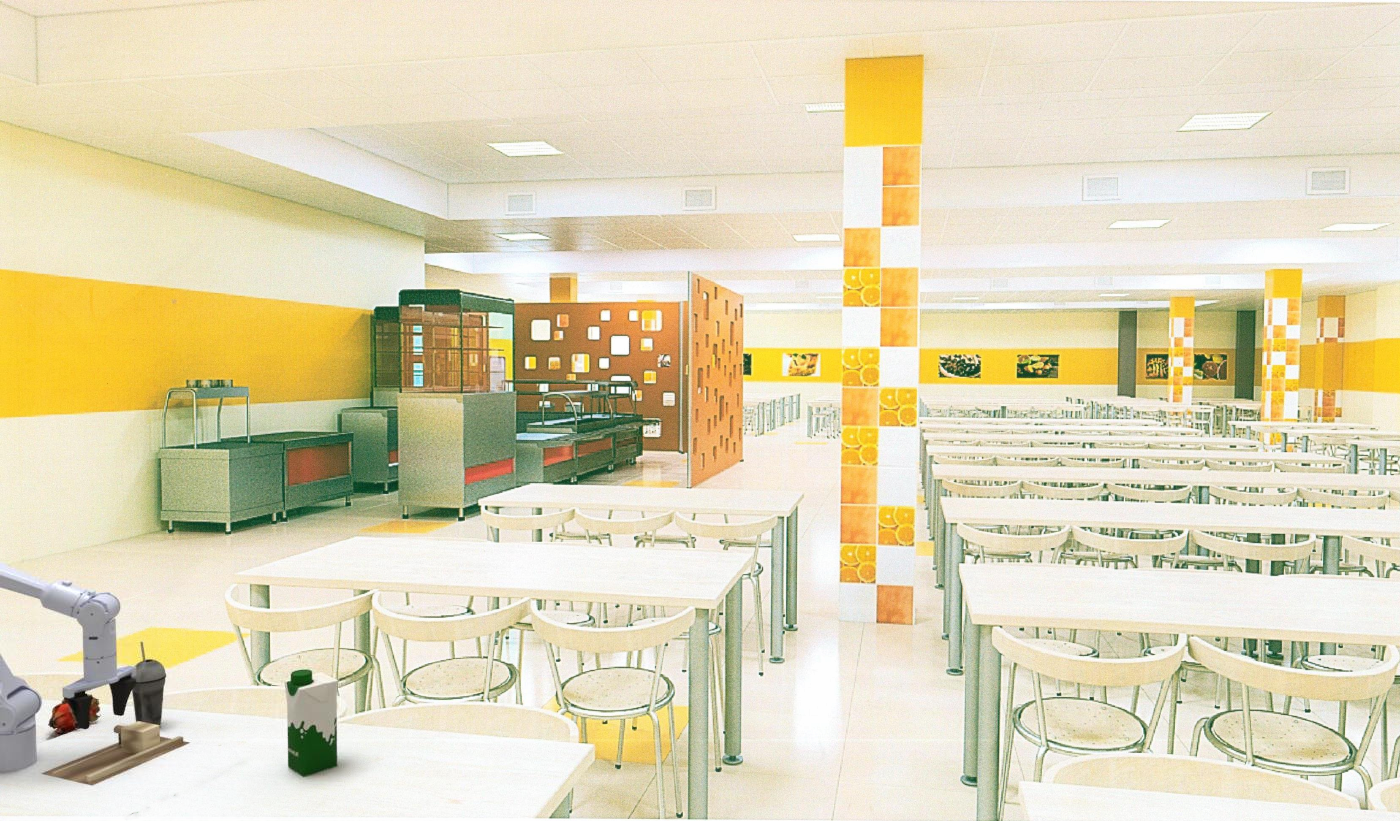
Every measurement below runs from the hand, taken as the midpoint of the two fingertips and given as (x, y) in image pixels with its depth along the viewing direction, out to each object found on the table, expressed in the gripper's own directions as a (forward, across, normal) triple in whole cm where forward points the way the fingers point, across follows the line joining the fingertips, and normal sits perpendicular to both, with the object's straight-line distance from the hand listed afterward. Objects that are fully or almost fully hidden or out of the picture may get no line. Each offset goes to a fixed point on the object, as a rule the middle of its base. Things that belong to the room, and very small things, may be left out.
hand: (101, 721), depth 195 cm
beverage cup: (+10, +18, +9) cm, 22 cm away
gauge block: (+8, +6, -1) cm, 10 cm away
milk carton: (+10, +16, -39) cm, 43 cm away
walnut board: (+9, +2, -2) cm, 10 cm away
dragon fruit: (+10, +11, +23) cm, 27 cm away
